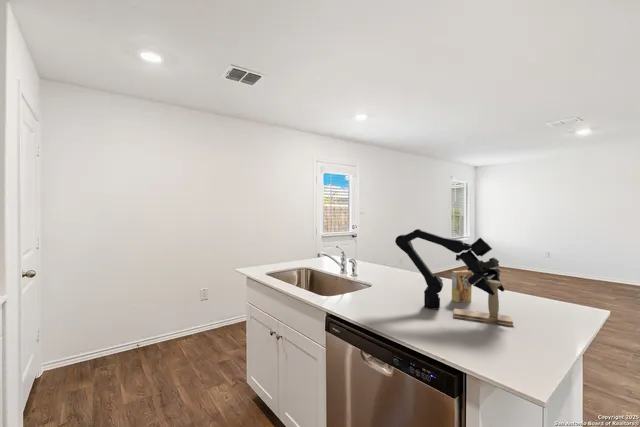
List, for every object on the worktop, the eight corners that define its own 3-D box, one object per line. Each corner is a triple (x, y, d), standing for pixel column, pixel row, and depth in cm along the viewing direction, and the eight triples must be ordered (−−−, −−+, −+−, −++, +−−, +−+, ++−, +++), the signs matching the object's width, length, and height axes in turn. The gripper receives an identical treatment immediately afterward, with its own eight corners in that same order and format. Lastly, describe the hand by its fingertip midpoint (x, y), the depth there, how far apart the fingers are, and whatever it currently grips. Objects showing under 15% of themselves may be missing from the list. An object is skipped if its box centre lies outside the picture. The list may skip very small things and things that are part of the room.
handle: (494, 319, 122) (493, 283, 122) (483, 314, 128) (482, 280, 128) (504, 318, 123) (503, 282, 123) (492, 313, 129) (492, 279, 129)
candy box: (466, 298, 155) (466, 270, 154) (471, 301, 151) (472, 271, 150) (451, 300, 153) (451, 270, 153) (456, 302, 149) (457, 272, 148)
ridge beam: (453, 318, 128) (453, 314, 128) (454, 310, 137) (454, 307, 137) (513, 327, 118) (513, 323, 118) (509, 318, 127) (509, 315, 127)
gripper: (475, 253, 123) (503, 285, 114) (495, 250, 133) (523, 278, 125) (456, 269, 129) (482, 300, 120) (477, 264, 140) (502, 293, 131)
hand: (498, 292), depth 124 cm, fingers open, 9 cm apart
